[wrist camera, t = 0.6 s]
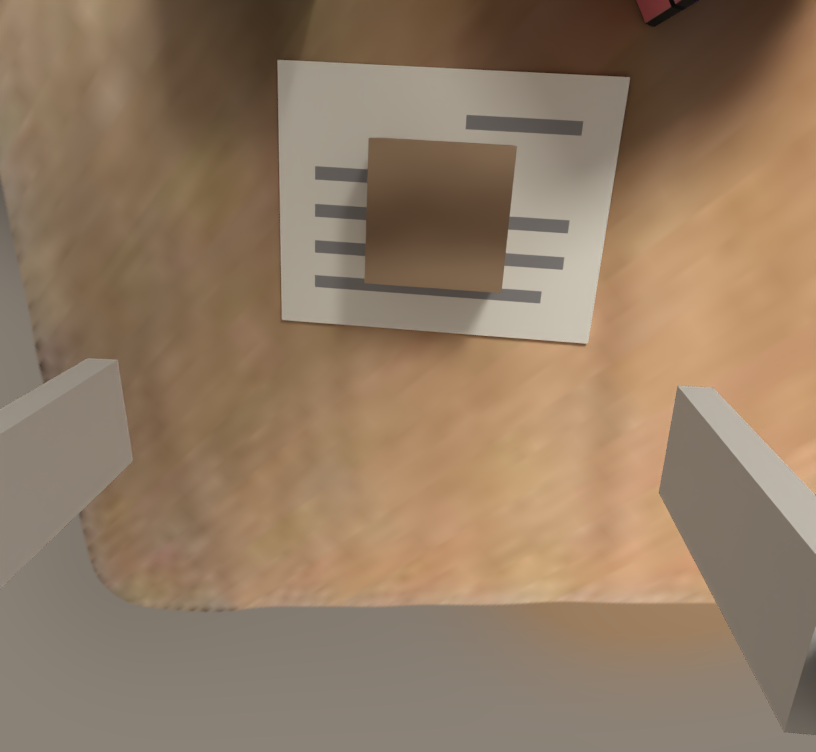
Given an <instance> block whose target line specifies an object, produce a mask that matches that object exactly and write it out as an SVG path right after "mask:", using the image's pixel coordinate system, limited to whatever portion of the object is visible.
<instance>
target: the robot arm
mask: <svg viewBox="0 0 816 752" xmlns="http://www.w3.org/2000/svg"><path fill="white" fill-rule="evenodd" d="M132 462H133V457H132V450H131V444H130V437H129V430H128V424H127V417H126V411H125V404H124V398H123V391H122V384H121V378H120V371H119V365H118V360H116V359H94V358H87V359H85V360H83V361H82V362H80V363H78V364H77V365H75V366H73V367H71V368H70V369H68V370H66V371H65V372H63V373H61V374H59V375H58V376H56V377H54V378H52V379H51V380H49V381H47V382H46V383H44V384H42V385H40V386H39V387H37V388H35V389H34V390H32V391H30V392H28V393H27V394H25V395H23V396H21V397H20V398H18V399H16V400H15V401H13V402H11V403H10V404H8V405H6V406H4V407H3V408H1V409H0V589H1V588H2V587H3V586H4V585H5V584H6V583H7V582H8V581H9V580H10V579H11V578H12V577H13V576H14V575H15V574H16V573H18V572H19V571H20V570H21V569H22V568H23V567H24V566H25V565H26V564H27V563H28V562H29V561H30V560H31V559H32V558H33V557H34V556H35V555H36V554H37V553H38V552H39V551H40V550H41V549H42V548H44V547H45V546H46V545H47V544H48V542H50V541H51V540H52V539H53V538H54V537H55V536H56V535H57V534H58V533H59V532H60V531H61V530H62V529H63V528H64V527H65V526H66V525H67V524H68V523H69V522H71V521H72V520H73V519H74V518H75V517H76V516H77V515H78V514H79V513H80V512H81V511H82V510H83V509H84V508H85V507H86V506H87V505H88V504H89V503H90V502H91V501H92V500H93V499H94V498H95V497H96V496H98V495H99V494H100V493H101V492H102V491H103V490H104V489H105V488H106V487H107V486H108V485H109V484H110V483H111V482H112V481H113V480H114V479H115V478H116V477H117V476H118V475H119V474H120V473H121V472H122V471H123V470H125V469H126V468H127V467H128V466H129V465H130V464H131V463H132ZM659 494H660V496H661V498H662V500H663V502H664V503H665V505H666V507H667V509H668V511H669V513H670V515H671V517H672V519H673V521H674V523H675V525H676V526H677V528H678V530H679V532H680V534H681V536H682V538H683V540H684V542H685V544H686V546H687V548H688V549H689V551H690V553H691V555H692V557H693V559H694V561H695V563H696V565H697V567H698V569H699V570H700V572H701V574H702V576H703V578H704V580H705V582H706V584H707V586H708V588H709V590H710V592H711V593H712V595H713V597H714V599H715V601H716V603H717V605H718V607H719V609H720V611H721V613H722V615H723V616H724V618H725V620H726V622H727V624H728V626H729V628H730V630H731V632H732V634H733V635H734V637H735V639H736V641H737V643H738V645H739V647H740V649H741V651H742V653H743V655H744V656H745V659H746V660H747V662H748V664H749V666H750V668H751V670H752V672H753V674H754V676H755V678H756V680H757V682H758V683H759V685H760V687H761V689H762V691H763V693H764V695H765V697H766V699H767V700H768V703H769V704H770V706H771V708H772V710H773V712H774V714H775V716H776V718H777V720H778V722H779V724H780V726H781V727H782V729H783V731H784V732H788V733H799V734H811V735H816V495H815V494H814V493H813V492H812V491H811V490H810V489H809V488H808V487H807V486H806V485H805V484H804V483H803V481H802V480H801V479H800V478H799V477H798V476H797V475H796V474H795V473H794V472H793V471H792V470H791V469H790V468H789V467H788V466H787V465H786V464H785V463H784V462H783V460H782V459H781V458H780V457H779V456H778V455H777V454H776V453H775V452H774V451H773V450H772V449H771V448H770V447H769V446H768V445H767V444H766V443H765V442H764V441H763V440H762V438H761V437H760V436H759V435H758V434H757V433H756V432H755V431H754V430H753V429H752V428H751V427H750V426H749V425H748V424H747V423H746V422H745V421H744V420H743V419H742V417H741V416H740V415H739V414H738V413H737V412H736V411H735V410H734V409H733V408H732V407H731V406H730V405H729V404H728V403H727V402H726V401H725V400H724V399H723V398H722V397H721V395H720V394H719V393H718V392H717V391H716V390H715V389H714V388H713V387H693V386H677V392H676V398H675V404H674V409H673V415H672V421H671V426H670V432H669V438H668V444H667V449H666V455H665V461H664V466H663V472H662V478H661V484H660V489H659Z"/></svg>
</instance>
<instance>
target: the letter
mask: <svg viewBox="0 0 816 752" xmlns="http://www.w3.org/2000/svg"><path fill="white" fill-rule="evenodd" d="M277 69H278V127H279V185H280V242H281V300H282V320H289V321H302V322H315V323H328V324H341V325H354V326H367V327H379V328H392V329H405V330H418V331H431V332H444V333H457V334H470V335H483V336H496V337H508V338H521V339H534V340H547V341H560V342H573V343H586V344H588V340H589V333H590V327H591V321H592V315H593V308H594V302H595V296H596V289H597V283H598V277H599V271H600V264H601V258H602V252H603V246H604V239H605V233H606V227H607V220H608V214H609V208H610V202H611V195H612V189H613V183H614V177H615V170H616V164H617V158H618V152H619V145H620V139H621V133H622V126H623V120H624V114H625V108H626V101H627V95H628V89H629V83H630V77H616V76H595V75H575V74H555V73H535V72H515V71H494V70H474V69H454V68H434V67H414V66H394V65H373V64H353V63H333V62H313V61H293V60H277ZM369 138H396V139H413V140H431V141H448V142H466V143H483V144H501V145H513V146H517V152H516V161H515V170H514V180H513V189H512V199H511V208H510V217H509V227H508V236H507V246H506V255H505V264H504V274H503V283H502V293H493V292H479V291H465V290H452V289H438V288H424V287H411V286H397V285H383V284H369V283H364V280H365V246H366V212H367V177H368V143H369Z"/></svg>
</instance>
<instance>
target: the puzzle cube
mask: <svg viewBox="0 0 816 752" xmlns="http://www.w3.org/2000/svg"><path fill="white" fill-rule="evenodd" d="M636 1H637V4H638V6H639V9H640V11H641V14H642V16H643V19H644V21H645V24H648V25H651V26H654V27H655V26H656V25H658V24H660V23H661V22H663V21H665V20H666V19H668V18H670V17H671V16H673V15H675V14H676V13H678V12H680V11H682V10H683V9H685V8H687V7H688V6H690V5H692V4H693V3H695V2H697V1H698V0H636Z"/></svg>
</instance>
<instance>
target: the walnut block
mask: <svg viewBox="0 0 816 752" xmlns="http://www.w3.org/2000/svg"><path fill="white" fill-rule="evenodd" d="M516 152H517V146H513V145H501V144H483V143H466V142H448V141H431V140H413V139H396V138H369V143H368V177H367V212H366V246H365V280H364V283H369V284H383V285H397V286H411V287H424V288H438V289H452V290H465V291H479V292H493V293H502V283H503V274H504V264H505V255H506V246H507V236H508V227H509V217H510V208H511V199H512V189H513V180H514V170H515V161H516Z"/></svg>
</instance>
